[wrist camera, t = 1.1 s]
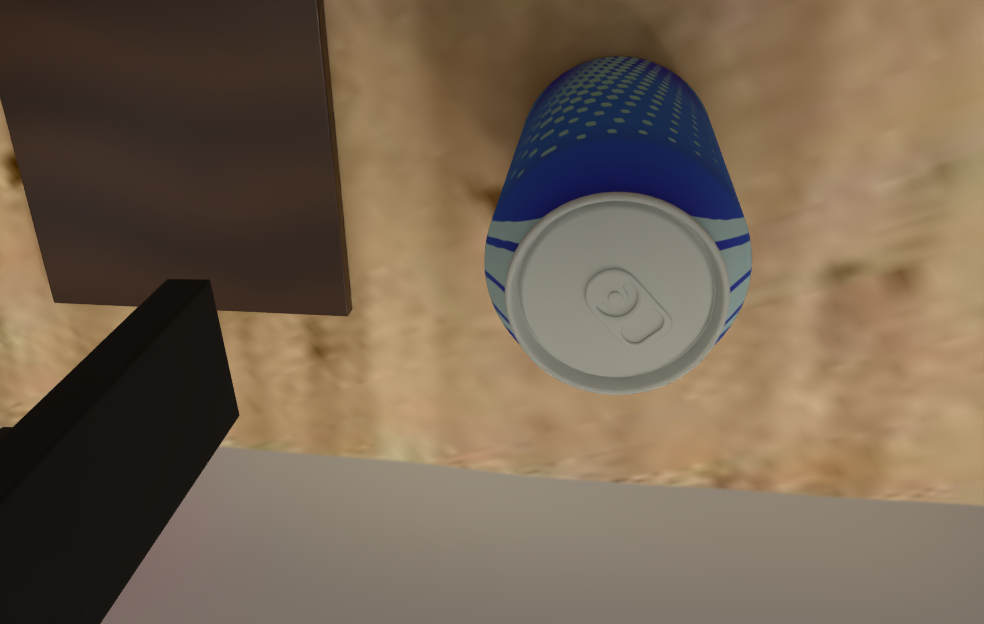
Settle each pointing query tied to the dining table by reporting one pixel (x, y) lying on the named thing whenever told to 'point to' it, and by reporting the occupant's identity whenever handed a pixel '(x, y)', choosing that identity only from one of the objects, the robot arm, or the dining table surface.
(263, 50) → the walnut trivet
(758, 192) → the dining table surface
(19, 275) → the dining table surface
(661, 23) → the dining table surface
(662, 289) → the beer can
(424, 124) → the dining table surface
